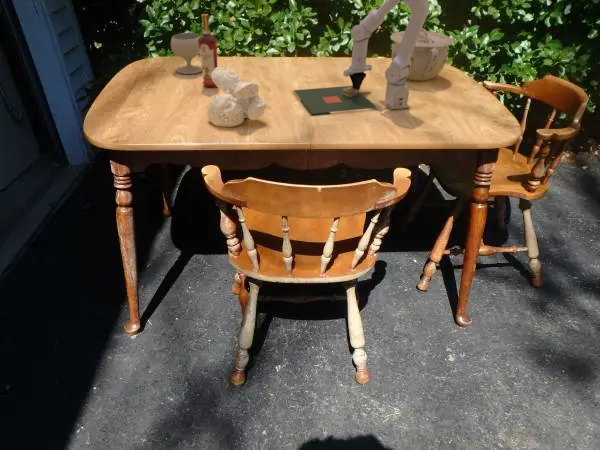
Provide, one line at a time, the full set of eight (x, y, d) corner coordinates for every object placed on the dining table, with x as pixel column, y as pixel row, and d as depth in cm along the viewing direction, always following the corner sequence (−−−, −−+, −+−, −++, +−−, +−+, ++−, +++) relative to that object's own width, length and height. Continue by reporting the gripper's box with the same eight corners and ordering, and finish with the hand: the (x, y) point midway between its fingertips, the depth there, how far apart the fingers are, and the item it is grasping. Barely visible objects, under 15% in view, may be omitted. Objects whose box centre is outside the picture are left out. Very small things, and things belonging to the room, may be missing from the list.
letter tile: (349, 91, 195) (349, 86, 194) (357, 94, 192) (357, 89, 191) (341, 94, 192) (342, 89, 191) (349, 97, 190) (350, 92, 188)
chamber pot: (398, 64, 231) (404, 18, 219) (453, 74, 220) (463, 26, 208) (375, 79, 211) (381, 30, 200) (435, 90, 200) (444, 39, 188)
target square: (342, 102, 185) (342, 101, 185) (326, 103, 183) (326, 103, 183) (337, 96, 190) (337, 96, 190) (321, 97, 189) (321, 97, 188)
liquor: (199, 87, 197) (192, 15, 181) (206, 82, 203) (200, 12, 187) (216, 89, 196) (210, 17, 180) (222, 83, 202) (217, 13, 186)
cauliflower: (185, 97, 162) (224, 57, 165) (213, 133, 178) (248, 96, 182) (219, 116, 152) (259, 73, 155) (245, 152, 168) (281, 113, 172)
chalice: (211, 69, 218) (208, 35, 209) (190, 77, 208) (186, 41, 200) (188, 64, 224) (185, 31, 215) (167, 71, 214) (162, 37, 206)
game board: (376, 109, 181) (376, 107, 181) (311, 115, 175) (311, 113, 174) (352, 87, 201) (352, 85, 201) (293, 92, 195) (293, 90, 195)
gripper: (364, 51, 192) (361, 84, 200) (338, 57, 185) (336, 91, 192) (377, 55, 188) (373, 89, 196) (351, 61, 180) (349, 96, 188)
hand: (356, 90), depth 194 cm, fingers closed
